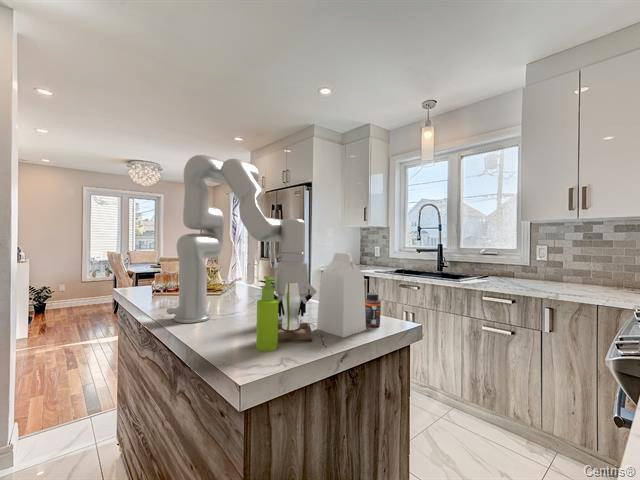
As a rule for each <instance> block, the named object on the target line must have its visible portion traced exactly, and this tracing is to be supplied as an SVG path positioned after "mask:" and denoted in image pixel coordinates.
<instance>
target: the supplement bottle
mask: <svg viewBox="0 0 640 480" xmlns="http://www.w3.org/2000/svg"><path fill="white" fill-rule="evenodd" d="M381 302H382V301H381V300H380V299H379V294H378V293H376V292H375V293H374V292H367V293H366V298H365V319H366V327H369V328H370V327H371V328H377V326H378V327H380V325H381V304H382V303H381Z"/></svg>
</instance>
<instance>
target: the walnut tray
mask: <svg viewBox="0 0 640 480" xmlns="http://www.w3.org/2000/svg"><path fill="white" fill-rule="evenodd" d="M281 326H282V323H278V343H302V342H303V343H309V342H313V332H312V331H313V330H312V328H311V324H310V322H300V327H301V329H300V330H299V331H296V332H286V331H283V330H281Z"/></svg>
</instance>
